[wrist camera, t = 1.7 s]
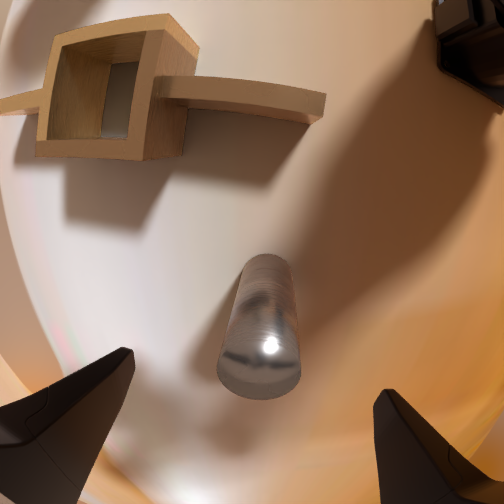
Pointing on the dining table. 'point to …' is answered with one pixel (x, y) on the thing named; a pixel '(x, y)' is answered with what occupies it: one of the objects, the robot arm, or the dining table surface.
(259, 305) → the pin
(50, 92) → the wooden box with arms
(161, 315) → the dining table surface
